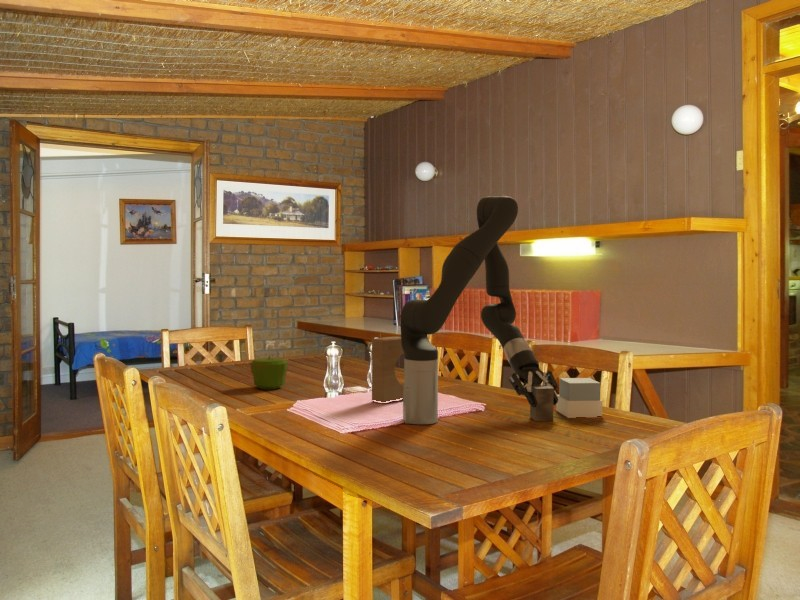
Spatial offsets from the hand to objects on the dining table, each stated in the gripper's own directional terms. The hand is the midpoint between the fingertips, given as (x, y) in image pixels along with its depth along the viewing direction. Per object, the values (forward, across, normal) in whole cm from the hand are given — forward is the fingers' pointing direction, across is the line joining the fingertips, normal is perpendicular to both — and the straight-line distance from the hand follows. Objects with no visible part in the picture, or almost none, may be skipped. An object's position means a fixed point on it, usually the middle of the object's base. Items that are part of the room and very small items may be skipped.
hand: (545, 404), depth 187 cm
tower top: (-2, +14, +2) cm, 15 cm away
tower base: (+1, +14, +5) cm, 15 cm away
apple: (-55, -56, +62) cm, 100 cm away
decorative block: (-28, -27, +34) cm, 52 cm away
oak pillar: (+2, 0, +4) cm, 5 cm away
